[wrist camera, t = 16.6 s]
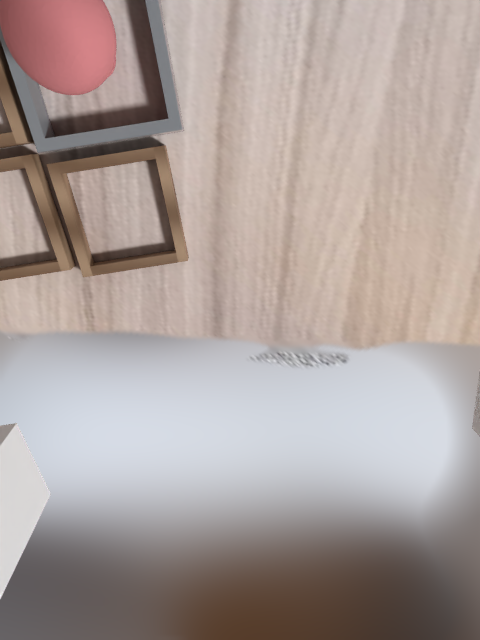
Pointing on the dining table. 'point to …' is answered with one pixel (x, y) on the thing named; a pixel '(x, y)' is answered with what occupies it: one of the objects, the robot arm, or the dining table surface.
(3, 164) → the frame
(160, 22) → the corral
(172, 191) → the frame
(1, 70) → the frame
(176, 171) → the dining table surface
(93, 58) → the light bulb
